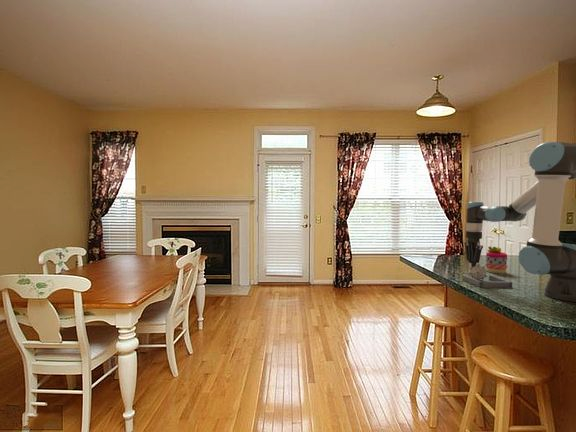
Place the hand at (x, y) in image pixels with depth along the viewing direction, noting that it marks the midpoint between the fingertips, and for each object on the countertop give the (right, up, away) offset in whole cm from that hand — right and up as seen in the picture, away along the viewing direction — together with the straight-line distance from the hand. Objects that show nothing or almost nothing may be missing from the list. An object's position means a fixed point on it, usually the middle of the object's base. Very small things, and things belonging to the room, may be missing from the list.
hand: (472, 274), depth 174 cm
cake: (+23, -1, +17) cm, 29 cm away
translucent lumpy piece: (0, -2, -5) cm, 6 cm away
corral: (0, -2, -11) cm, 11 cm away
